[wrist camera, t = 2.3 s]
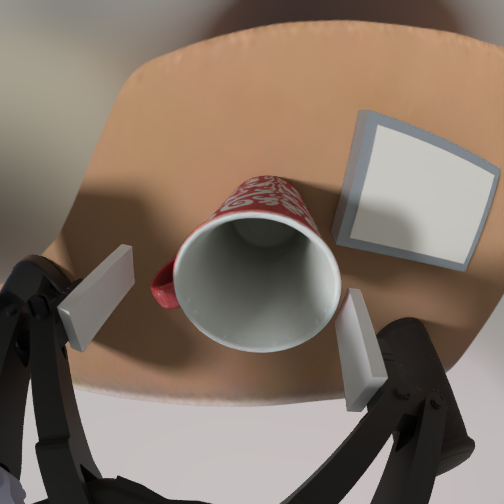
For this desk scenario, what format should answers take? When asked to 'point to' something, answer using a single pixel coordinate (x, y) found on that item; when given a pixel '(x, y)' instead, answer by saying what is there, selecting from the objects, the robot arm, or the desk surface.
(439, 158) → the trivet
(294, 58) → the desk surface
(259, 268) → the mug
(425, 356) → the container
